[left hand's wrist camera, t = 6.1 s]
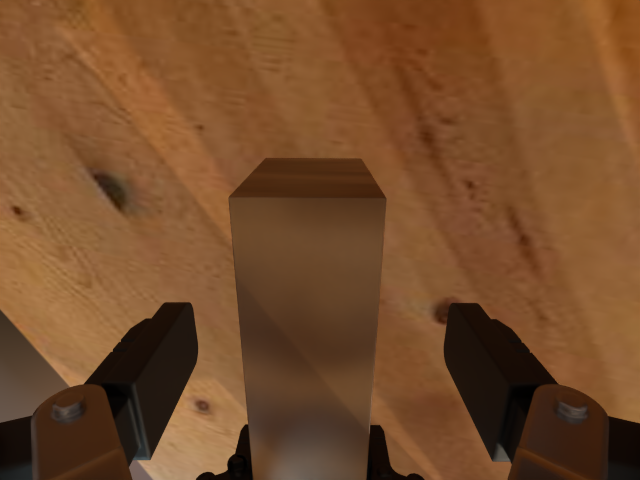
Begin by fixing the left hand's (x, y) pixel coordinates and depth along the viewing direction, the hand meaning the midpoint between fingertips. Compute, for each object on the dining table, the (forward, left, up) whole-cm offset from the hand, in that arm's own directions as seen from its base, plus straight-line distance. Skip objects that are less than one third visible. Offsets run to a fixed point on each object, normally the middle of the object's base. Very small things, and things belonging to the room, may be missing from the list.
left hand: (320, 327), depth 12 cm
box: (+8, 0, -13) cm, 15 cm away
